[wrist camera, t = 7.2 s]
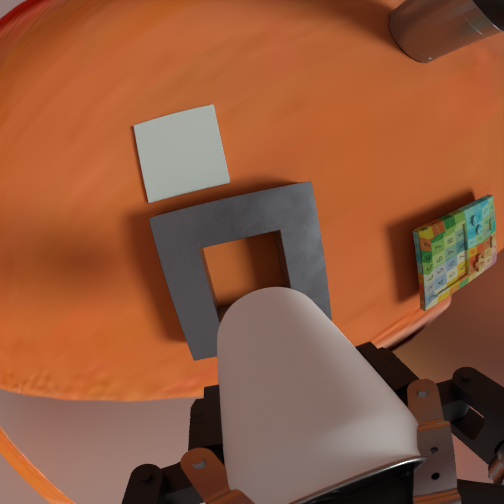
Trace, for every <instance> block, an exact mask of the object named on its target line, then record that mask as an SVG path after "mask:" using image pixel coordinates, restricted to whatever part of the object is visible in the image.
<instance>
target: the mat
mask: <svg viewBox="0 0 504 504" xmlns="http://www.w3.org/2000/svg"><path fill="white" fill-rule="evenodd" d="M134 130H135V136H136V142H137V148H138V153H139V159H140V164H141V169H142V174H143V179H144V183H145V188H146V193H147V197H148V201H149V203H151V202H155V201H158V200H162V199H166V198H169V197H173V196H177V195H181V194H185V193H189V192H193V191H197V190H201V189H205V188H209V187H213V186H217V185H222V184H226V183H230V178H229V174H228V169H227V165H226V160H225V156H224V151H223V146H222V142H221V137H220V133H219V128H218V123H217V119H216V114H215V109H214V105H213V104H212V105H208V106H203V107H198V108H194V109H190V110H186V111H182V112H178V113H174V114H170V115H167V116H163V117H159V118H156V119H153V120H149V121H146V122H143V123H140V124H137V125H134Z"/></svg>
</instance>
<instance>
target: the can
mask: <svg viewBox="0 0 504 504" xmlns="http://www.w3.org/2000/svg"><path fill="white" fill-rule="evenodd" d="M217 359H218V382H219V391H220V408H221V424H222V437H223V454H224V464H225V467H226V472H227V478H228V484H229V488H230V490H233V489H238V490H240V491H242V492H243V493H244V494H245V495H246V496H247V497H248V498H250V499H251V500H252V501H253V502H254V503H255V504H330V503H333V502H337V501H341V500H342V499H343V498H345V497H351V496H352V495H354V494H357V493H359V492H361V491H364V490H366V489H368V488H370V487H373V486H375V485H377V484H379V483H381V482H383V481H385V480H387V479H389V478H391V477H393V476H395V475H398V474H400V473H403V472H405V471H410V465H411V463H412V462H418V461H426V460H427V459H428V457H427V456H421V455H420V453H419V451H418V447H417V426H418V425H419V424H418V422H417V420H416V419H415V417H414V416H413V414H412V413H411V412H410V411H409V409H408V408H407V407H406V406H405V404H404V403H403V402H402V401H401V400H400V398H399V397H398V396H397V395H396V394H395V393H394V391H393V390H392V389H391V388H390V387H389V386H388V384H387V383H386V382H385V381H384V380H383V379H382V378H381V376H380V375H379V374H378V373H377V372H376V371H375V370H374V368H373V367H372V366H371V365H370V364H369V363H368V362H367V360H366V359H365V358H364V357H363V356H362V355H361V354H360V353H359V351H358V350H357V349H356V348H355V347H354V346H353V345H352V344H351V342H350V341H349V340H348V339H347V338H346V337H345V336H344V335H343V333H342V332H341V331H340V330H339V329H338V328H337V327H336V326H335V325H334V324H333V322H332V321H331V320H330V319H329V318H328V317H327V316H326V315H325V314H324V313H323V311H322V310H321V309H320V308H319V307H318V306H317V305H316V304H315V303H314V302H313V301H312V300H311V299H310V298H308V297H307V296H306V295H304V294H303V293H301V292H299V291H296V290H293V289H290V288H284V287H269V288H263V289H259V290H256V291H253V292H251V293H249V294H247V295H245V296H243V297H241V298H240V299H238V300H237V301H236V302H235V303H233V304H232V306H231V307H230V308H229V309H228V310H227V312H226V313H225V315H224V317H223V319H222V321H221V324H220V326H219V330H218V335H217Z"/></svg>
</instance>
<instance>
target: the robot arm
mask: <svg viewBox="0 0 504 504" xmlns="http://www.w3.org/2000/svg"><path fill="white" fill-rule="evenodd" d="M389 16H390V22H389V28H390V32H391V34H392V36H393V38H394V40H395V41H396V43H397V44H398V45H399V47H400V48H401V49H402V50H403V51H404V52H405V53H406V54H407V55H409V56H410V57H411V58H413V59H415V60H416V61H419V62H422V63H428V62H430V61H432V60H435V59H437V58H439V57H441V56H443V55H446V54H448V53H450V52H452V51H455V50H457V49H459V48H462V47H464V46H466V45H469V44H471V43H474V42H476V41H479V40H481V39H484V38H486V37H489V36H492V35H494V34H497V33H500V32H503V31H504V0H406V1H404V2H403V3H402V4H401V5H399V6H398V7H397V8H396V9H394V10H393V11H392V12H391V13H390V14H389ZM355 348H356V349H357V350H358V351H359V353H360V354H361V355H362V356H363V357H364V358H365V359H366V360H367V362H368V363H369V364H370V365H371V366H372V367H373V368H374V370H375V371H376V372H377V373H378V374H379V375H380V376H381V378H382V379H383V380H384V381H385V382H386V383H387V384H388V386H389V387H390V388H391V389H392V390H393V391H394V393H395V394H396V395H397V396H398V397H399V398H400V400H401V401H402V402H403V403H404V404H405V406H406V407H407V408H408V409H409V411H410V412H411V413H412V414H413V416H414V417H415V419H416V420H417V422H418V424H419V425H418V426H417V447H418V451H419V453H420V455H421V456H427V457H428V459H427V460H426V461H418V462H412V463H411V465H410V471H405V472H403V473H400V474H398V475H395V476H393V477H391V478H389V479H387V480H385V481H383V482H381V483H379V484H377V485H375V486H373V487H370V488H368V489H366V490H364V491H361V492H359V493H357V494H354V495H352V496H351V497H345V498H343V499H342V500H341V501H337V502H333V503H330V504H504V387H502V386H500V385H499V384H497V383H496V382H494V381H493V380H491V379H490V378H488V377H486V376H485V375H483V374H482V373H480V372H478V371H477V370H476V369H474V368H471V367H462V368H459V369H457V370H456V371H455V372H454V374H453V377H452V379H451V380H447V381H444V382H440V383H435V382H433V381H431V380H429V379H419V378H418V377H417V376H416V375H415V374H414V373H413V372H412V371H411V370H410V369H409V368H408V367H407V366H406V365H405V364H404V363H402V361H400V359H399V358H397V356H396V355H395V354H394V353H392V352H391V351H390V350H387V349H385V348H383V347H381V348H379V349H377V348H376V347H375V346H374V345H373V344H372V343H371V342H367V343H364V344H361V345H359V346H356V347H355ZM470 406H471V407H472V408H474V409H475V410H476V411H478V412H479V413H480V414H481V415H483V416H484V418H482V417H481V416H480V415H479V414H478V413H476V412H475V411H474V410H472V409H471V408H470ZM190 417H191V418H190V428H189V446H188V452H186V453H185V454H184V455H183V457H182V458H181V461H180V462H178V463H177V464H174V465H171V466H168V467H165V468H162V469H160V468H159V467H157V466H156V465H153V464H143V465H140V466H138V467H136V468H135V469H134V470H133V472H132V473H131V476H130V479H129V482H128V485H127V488H126V492H125V495H124V498H123V501H122V504H200V503H203V502H205V503H206V504H255V503H254V502H253V501H252V500H251V499H250V498H248V497H247V496H246V495H245V494H244V493H243V492H242V491H240V490H238V489H233V490H230V488H229V484H228V478H227V472H226V467H225V464H224V454H223V437H222V424H221V408H220V391H219V385H214V386H208V387H204V398H201V399H196V400H195V402H194V403H193V405H192V407H191V413H190ZM452 433H453V434H454V435H455V436H456V437H457V438H458V439H459V440H461V441H462V442H463V443H464V444H465V445H466V446H468V447H469V448H470V449H471V450H472V451H473V452H474V453H475V454H477V455H478V456H479V457H480V458H481V459H482V460H483V461H485V462H486V463H487V464H488V473H489V474H488V478H489V479H490V480H493V484H492V483H482V482H475V481H468V480H461V479H457V477H456V464H455V454H454V446H453V438H452Z"/></svg>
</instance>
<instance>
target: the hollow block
mask: <svg viewBox="0 0 504 504" xmlns="http://www.w3.org/2000/svg"><path fill="white" fill-rule="evenodd" d="M149 221H150V225H151V229H152V233H153V237H154V241H155V244H156V248H157V252H158V255H159V259H160V262H161V266H162V269H163V272H164V276H165V279H166V282H167V285H168V288H169V292H170V295H171V298H172V301H173V304H174V307H175V310H176V313H177V316H178V319H179V321H180V324H181V327H182V330H183V333H184V335H185V338H186V341H187V344H188V346H189V349H190V352H191V354H192V357H193V359H194V361H195V360H200V359H205V358H210V357H215V356H217V335H218V330H219V326H220V324H221V321H222V319H223V317H224V315H225V313H226V312H227V310H228V309H229V308H230V307H231V306H232V304H231V305H227V306H223V307H218V303H217V300H216V296H215V293H214V289H213V285H212V282H211V278H210V274H209V271H208V267H207V263H206V259H205V255H204V251H203V248H204V247H208V246H212V245H217V244H221V243H225V242H229V241H233V240H238V239H242V238H246V237H250V236H255V235H259V234H263V233H268V232H272V231H273V232H274V237H275V242H276V247H277V252H278V257H279V263H280V268H281V273H282V278H283V284H284V288H290V289H293V290H296V291H299V292H301V293H303V294H304V295H306V296H307V297H308V298H310V299H311V300H312V301H313V302H314V303H315V304H316V305H317V306H318V307H319V308H320V309H321V310H322V311H323V313H324V314H325V315H326V316H327V317H328V318H329V319H330V320H331V321H332V318H331V308H330V299H329V291H328V283H327V275H326V267H325V260H324V253H323V247H322V240H321V234H320V228H319V222H318V216H317V210H316V204H315V199H314V194H313V188H312V183H311V181H310V182H300V183H294V184H289V185H284V186H279V187H274V188H269V189H264V190H259V191H254V192H250V193H245V194H240V195H236V196H231V197H227V198H223V199H218V200H214V201H210V202H206V203H202V204H198V205H194V206H190V207H186V208H182V209H178V210H174V211H170V212H167V213H163V214H159V215H156V216H153V217H151V218H149Z"/></svg>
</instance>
